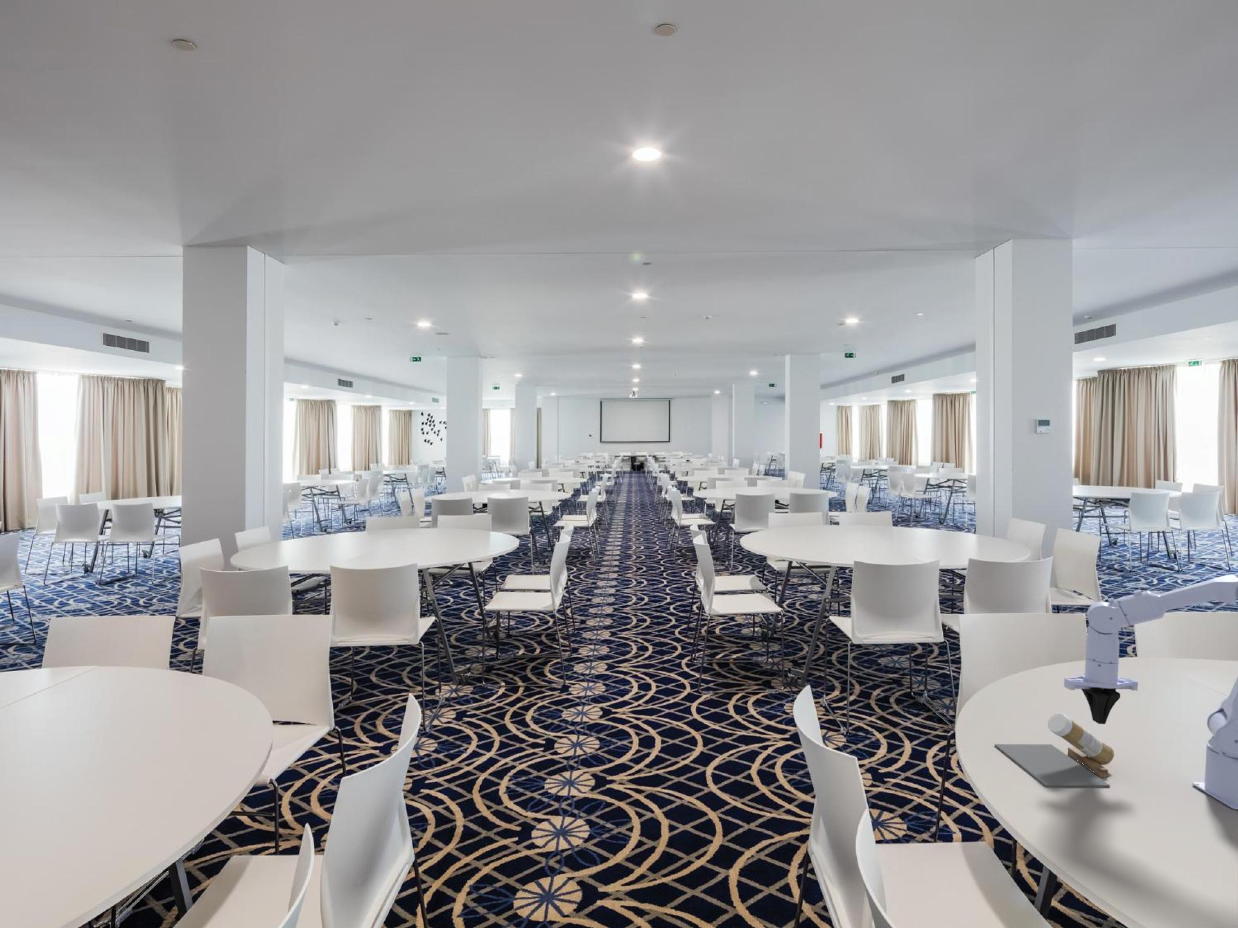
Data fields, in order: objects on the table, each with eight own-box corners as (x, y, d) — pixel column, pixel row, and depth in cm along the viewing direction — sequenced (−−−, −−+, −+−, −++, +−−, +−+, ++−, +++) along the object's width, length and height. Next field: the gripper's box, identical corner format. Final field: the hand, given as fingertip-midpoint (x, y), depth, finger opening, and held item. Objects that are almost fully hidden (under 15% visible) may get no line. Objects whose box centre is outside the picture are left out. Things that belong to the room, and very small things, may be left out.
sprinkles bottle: (1091, 760, 149) (1042, 726, 148) (1102, 742, 149) (1054, 708, 148) (1108, 769, 144) (1057, 734, 143) (1119, 751, 144) (1069, 716, 143)
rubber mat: (1109, 786, 137) (1109, 784, 137) (1045, 786, 137) (1045, 784, 137) (1051, 746, 155) (1051, 744, 155) (994, 745, 155) (994, 743, 155)
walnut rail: (1107, 776, 141) (1107, 769, 141) (1100, 776, 141) (1100, 769, 141) (1074, 754, 151) (1074, 747, 151) (1067, 754, 151) (1068, 747, 151)
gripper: (1121, 653, 150) (1118, 714, 150) (1055, 652, 149) (1053, 714, 150) (1146, 664, 143) (1143, 728, 143) (1078, 663, 142) (1075, 727, 143)
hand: (1098, 722), depth 146 cm, fingers closed
